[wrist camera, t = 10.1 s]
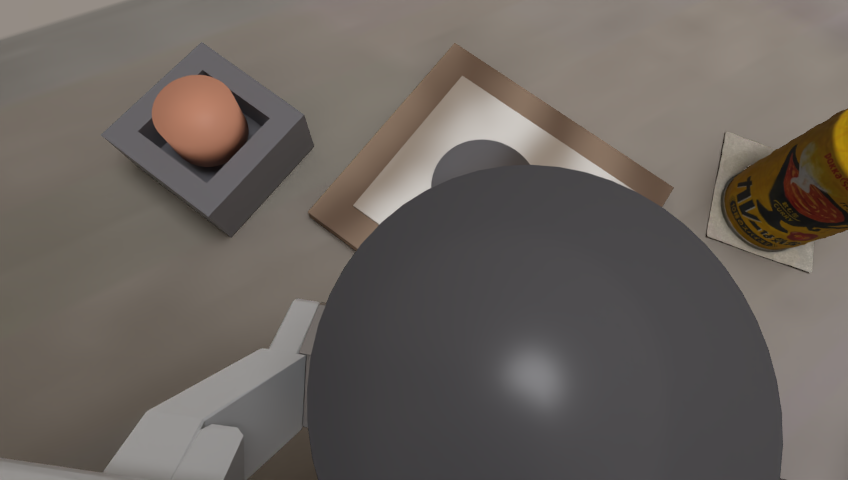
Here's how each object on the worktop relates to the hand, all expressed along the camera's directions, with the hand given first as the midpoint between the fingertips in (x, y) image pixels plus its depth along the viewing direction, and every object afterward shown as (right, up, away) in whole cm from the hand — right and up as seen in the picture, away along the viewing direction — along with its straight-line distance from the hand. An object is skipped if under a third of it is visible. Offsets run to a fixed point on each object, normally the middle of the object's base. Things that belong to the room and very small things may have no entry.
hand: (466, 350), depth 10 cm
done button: (-14, +9, +19) cm, 25 cm away
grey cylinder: (-1, -2, +6) cm, 6 cm away
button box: (-14, +8, +21) cm, 27 cm away
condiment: (+23, +5, +24) cm, 33 cm away
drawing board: (+4, +5, +22) cm, 23 cm away
